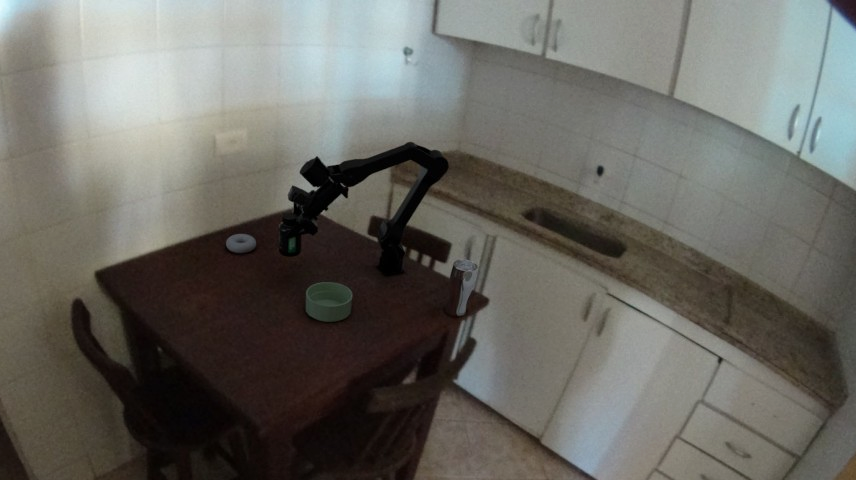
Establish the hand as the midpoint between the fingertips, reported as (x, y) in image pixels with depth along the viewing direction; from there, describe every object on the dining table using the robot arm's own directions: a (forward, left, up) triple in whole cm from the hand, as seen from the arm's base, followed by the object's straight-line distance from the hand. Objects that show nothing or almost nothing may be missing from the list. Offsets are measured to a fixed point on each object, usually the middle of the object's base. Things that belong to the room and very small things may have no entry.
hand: (285, 232), depth 184 cm
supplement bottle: (-1, 0, -7) cm, 7 cm away
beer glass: (-37, +39, -13) cm, 55 cm away
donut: (+7, -20, -13) cm, 25 cm away
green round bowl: (-3, +25, -13) cm, 29 cm away
